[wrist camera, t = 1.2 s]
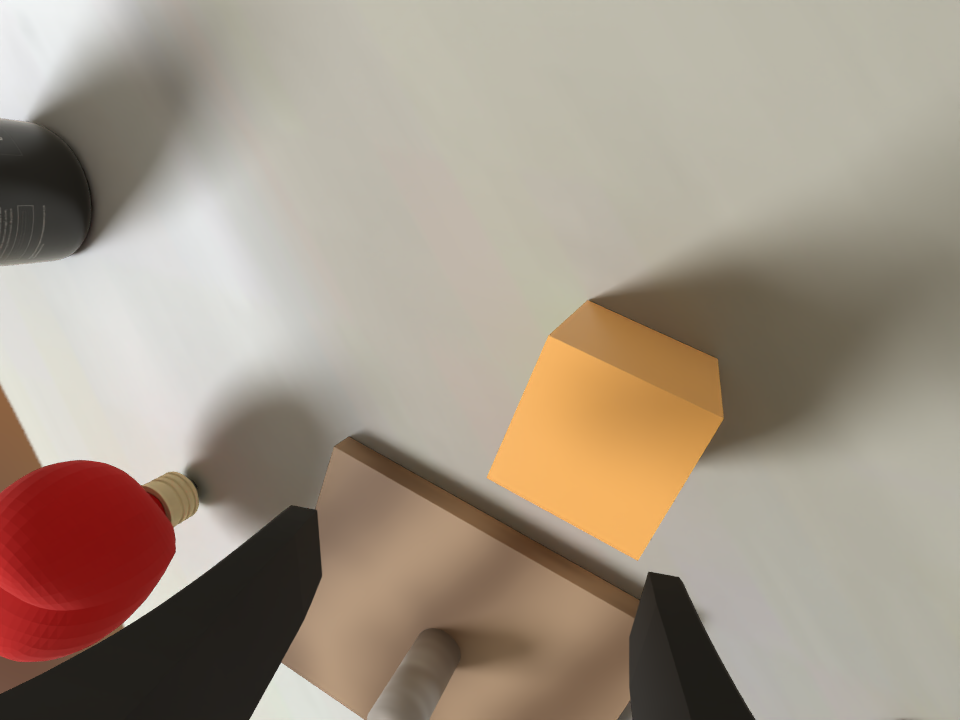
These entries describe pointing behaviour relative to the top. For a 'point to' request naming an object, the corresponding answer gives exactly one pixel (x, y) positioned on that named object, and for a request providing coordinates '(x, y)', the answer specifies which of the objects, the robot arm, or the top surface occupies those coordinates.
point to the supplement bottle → (39, 195)
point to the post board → (452, 609)
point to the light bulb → (82, 553)
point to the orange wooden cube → (610, 426)
